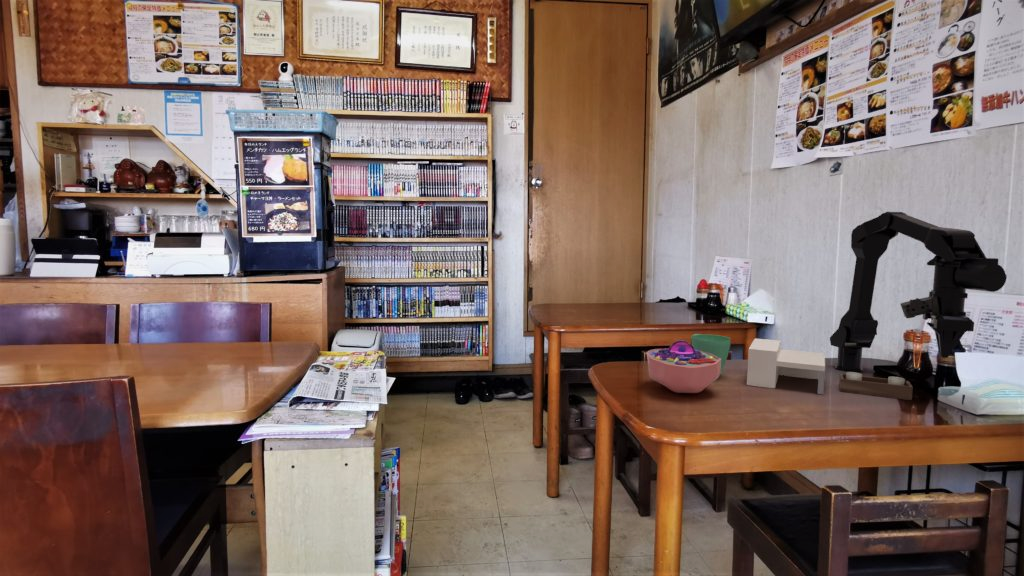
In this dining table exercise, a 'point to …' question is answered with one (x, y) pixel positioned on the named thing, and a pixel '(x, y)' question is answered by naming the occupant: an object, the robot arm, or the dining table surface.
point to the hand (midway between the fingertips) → (943, 356)
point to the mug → (712, 345)
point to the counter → (782, 364)
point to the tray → (875, 386)
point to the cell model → (683, 367)
